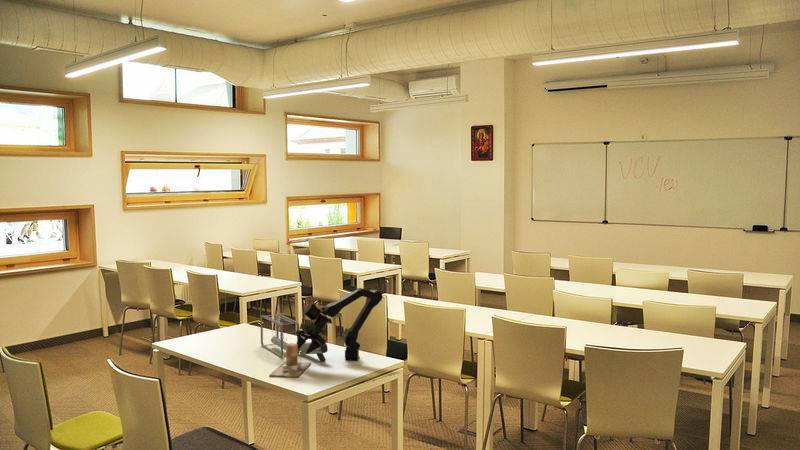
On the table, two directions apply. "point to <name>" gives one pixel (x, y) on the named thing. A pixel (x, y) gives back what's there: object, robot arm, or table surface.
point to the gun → (317, 351)
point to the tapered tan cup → (291, 354)
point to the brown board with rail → (290, 370)
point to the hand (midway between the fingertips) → (301, 351)
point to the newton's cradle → (276, 339)
